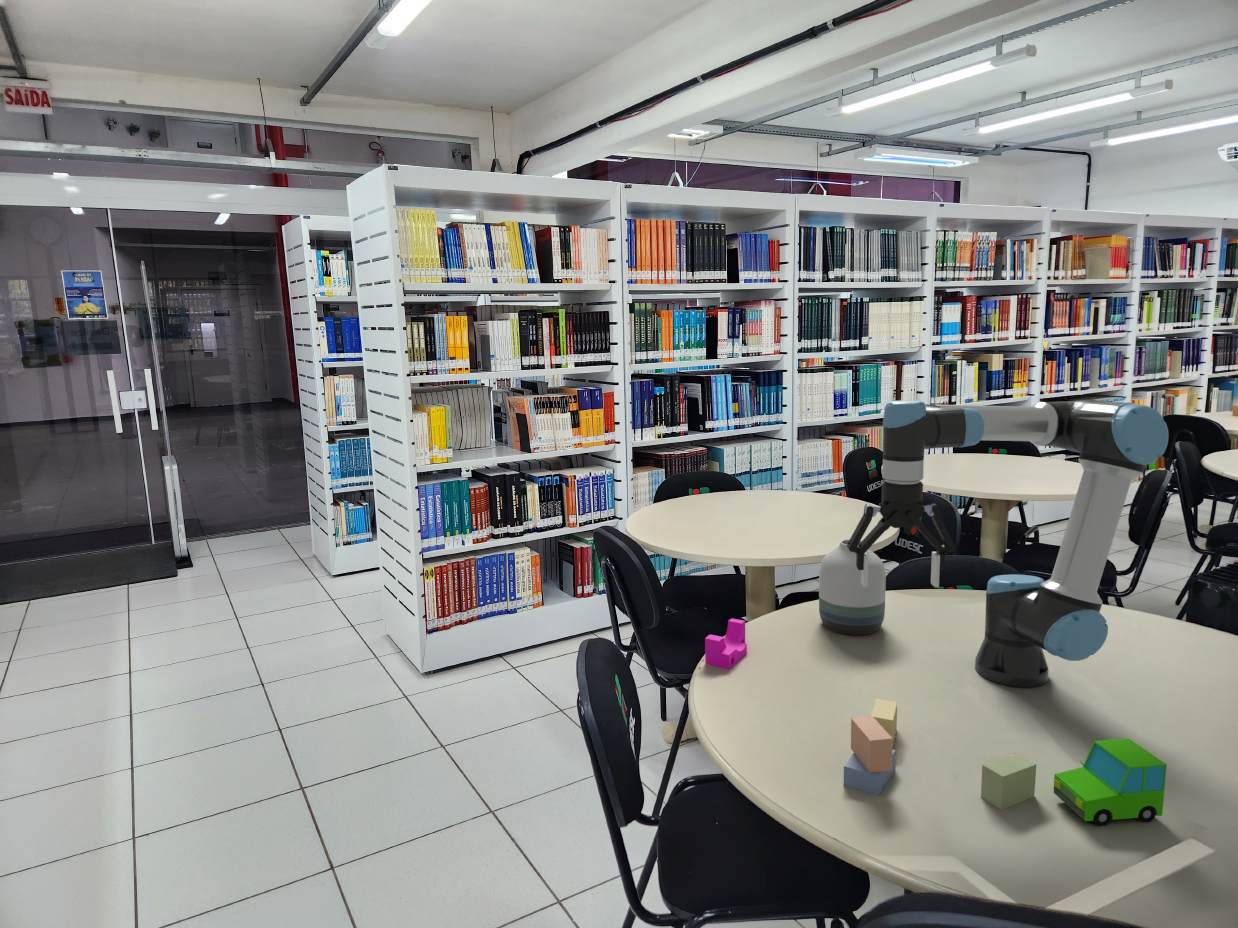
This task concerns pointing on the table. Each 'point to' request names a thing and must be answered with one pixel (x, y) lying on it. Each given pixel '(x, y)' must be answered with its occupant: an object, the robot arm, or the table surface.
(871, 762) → the brick terracotta
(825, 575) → the vase
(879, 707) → the brick ochre
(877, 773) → the brick slate
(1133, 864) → the table surface
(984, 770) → the brick olive
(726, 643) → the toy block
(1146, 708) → the table surface
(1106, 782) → the toy car
